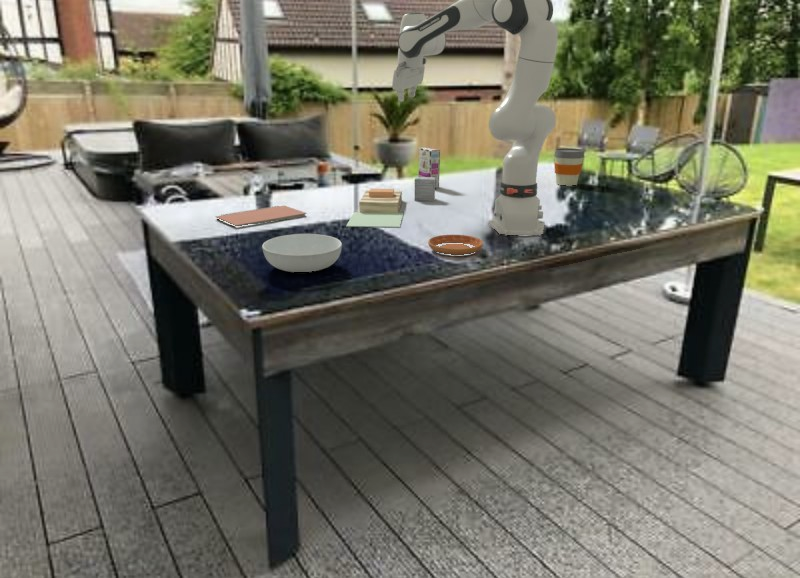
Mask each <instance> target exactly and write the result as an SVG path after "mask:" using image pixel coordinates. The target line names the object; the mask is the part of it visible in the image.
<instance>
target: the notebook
mask: <svg viewBox="0 0 800 578" xmlns="http://www.w3.org/2000/svg"><path fill="white" fill-rule="evenodd" d="M306 214H307V212H305V211H302V210H298V209H296V208H293V207H289V206H287V205H273V206H267V207H261V208H256V209H250V210H243V211H238V212H237V211H236V212H231V213H230V212H228V213H225V214H220V215H217V216H215V215H214V216H215V218H216V219H217V218H219V219H221V220H223V221H226V222H228V223H230V224H233V225H235V226H242V225H248V224H258V223H264V224H266V223H265V222H270V223H272V222H271V221H275V222H278V221H277V220H281V221H286V220H285V219H287V220H291V219H297V218H303V217H306ZM258 225H259V224H258Z"/></svg>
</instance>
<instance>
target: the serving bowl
mask: <svg viewBox="0 0 800 578" xmlns="http://www.w3.org/2000/svg"><path fill="white" fill-rule="evenodd" d="M261 248H262V252H263V255H264V259H266V261H267V262H268V263H269V264H270V265H271V266H272V267H274V268H276V269H278V270H281V271H284V272H290V273H294V272H309V273H313V272H312V271H314V272H316V271H322V270H323V269H326V268H329V267H331V266H332V265H333V264H335V262H336V261H338V259H339V257H340V256H341V253H342V248H343V243H342V242H341V240H340V239H338V238H336V237H333V236H330V235H325V234H319V233H318V234H317V233H293V234H286V235H280V236H276V237H273V238H271V239H268V240H266V241H264V242H263V244H262V246H261Z"/></svg>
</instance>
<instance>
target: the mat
mask: <svg viewBox="0 0 800 578" xmlns="http://www.w3.org/2000/svg"><path fill="white" fill-rule="evenodd" d="M403 217H404V212H398V213H384V212H360V211H358V212H357V211H354V212H353V213H352V215H351V217H350V219H349V221H348V222H347V224H346V226H345V227H346V228H347V227H348V228H349V227H350V228H399V227H400V228H401V225H400V224H402V221H403ZM401 220H402V221H401Z"/></svg>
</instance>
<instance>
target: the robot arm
mask: <svg viewBox="0 0 800 578" xmlns="http://www.w3.org/2000/svg"><path fill="white" fill-rule="evenodd" d="M553 13H554V5H553V3H552V0H457V1H455V2H454V3H452V4H451V5H449V6H447V7H446V8H445V9H442V10H441V11H439V12H438V13H436V14H434V15H432V16H431V17H428V19H427V17H426V15H425V13H422V12H408V13H405V14H404V15H402V18H401V22H400V27H399V35H398V39H397V45H398V51H397V64H396V65H397V67H395V69H394V71H393V76H392V85H391V88H392V90H393V91H397V96H398V97H397V98H398V99H397V101H398V102H400V103H402V102H404V101H405V96H404V92H405V90H407V89H410V90H409V93H408V97H409V98H411V99H413V98H414V97H415V96H416V92H417V88H418V85H420V84H422V83H423V80H424V77H425V76H424V74H425V65H426V64H427V56H436V55H439V54H441V53H442V52H443V51H444V50H445V48H446V45H447V35H446V33H449V32H454V31H455V32H456V31H465V30H474V29H478V28H480V27H483V26H486V25H488V24H490V23H491V22H494V23H495V24H496V25H497V26H498V27H500V28H502V29H503V30H505V31H507V32H508V33H510V34H511V35H518V36H519V38H520V46H519V51H518V56H517V61H516V65H515V70H514V74H513V78H512V81H511V85H510V87H509V89H508V91H507V93H506V95H505V96H504V99H503V100H502V102H501V103H500V105H498V106H497V108H495V110H494V111H492V113H491V115H490V117H489V119H488V129H489V132H490V134H491V136H492V137H493V138H494V139H496V140H500V141H503V142H513V144H512V146H511V148H510V150H509V151H508V152H507V154H506V155H505V156H504V157H503V160H502V177H501V179H502V180H501V181H500V187H499V193H500V195H499V196H498V197H497V198H496V199H495V200H494V208H493V209H494V212H493V219H490V220H488V222H487V224H488V225H489V226H490V227H491V228H492V229H493V230H494V229H495V230H496V231H497V232H498V233H499V234H498V233H497V232H496V231H495V230H494V231H495V232H496V233H497V234H498V235H500V234H505V235H504V236H507V235H539V236H542V235H541V234H543V235H544V231H543V230H545V226H546V221H544V220H543V218H544V211H541V210H542V207H543V206H542V205H541V204H540V203H541V199H540V198H538V197H537V196H538V183H537V176H538V175H537V173H538V164H539V159H540V154H541V151H542V148H543V146H544V144H545V142H546V140H547V138H548V136H549V135H550V134H551V133H552V132H553V130H554V129H555V127H556V122H557V117H556V114H555V111H554V109H552V107H550V106H548V105H545V104H541V103H537V102H538V101H539V99H540V97H541V96H542V95H543V94H544V93H546V91H547V89H548V88H549V86H550V82H551V78H552V74H553V70H554V64H555V60H556V54H557V48H558V38H559V37H558V36H559V34H558V31H559V30H558V27H557V25H556V24H555V23H553V21H551V20H552V18H553ZM541 219H542V220H541ZM544 225H545V226H544Z"/></svg>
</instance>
